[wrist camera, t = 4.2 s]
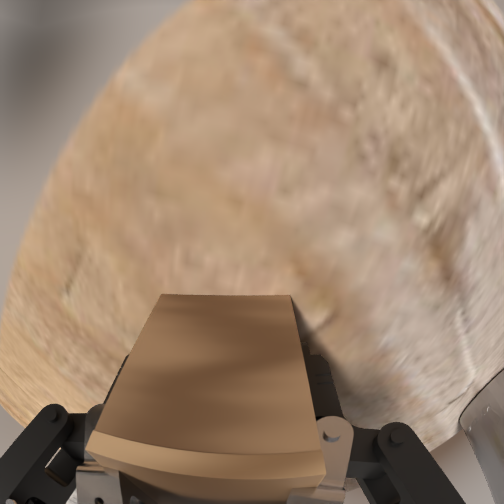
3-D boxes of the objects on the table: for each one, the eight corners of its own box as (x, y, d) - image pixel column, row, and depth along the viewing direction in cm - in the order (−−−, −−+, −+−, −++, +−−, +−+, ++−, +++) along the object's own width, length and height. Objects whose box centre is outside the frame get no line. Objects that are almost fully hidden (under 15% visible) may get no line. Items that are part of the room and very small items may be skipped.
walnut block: (290, 294, 10) (326, 473, 4) (282, 381, 12) (295, 514, 6) (160, 293, 10) (85, 449, 4) (180, 378, 12) (150, 504, 6)
